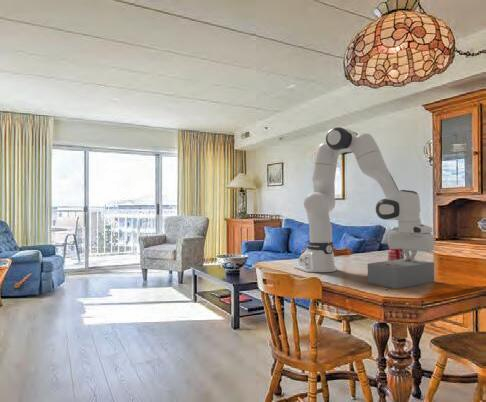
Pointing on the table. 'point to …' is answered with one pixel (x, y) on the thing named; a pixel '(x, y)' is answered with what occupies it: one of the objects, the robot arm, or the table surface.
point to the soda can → (395, 254)
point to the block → (400, 273)
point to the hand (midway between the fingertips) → (410, 260)
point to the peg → (409, 261)
